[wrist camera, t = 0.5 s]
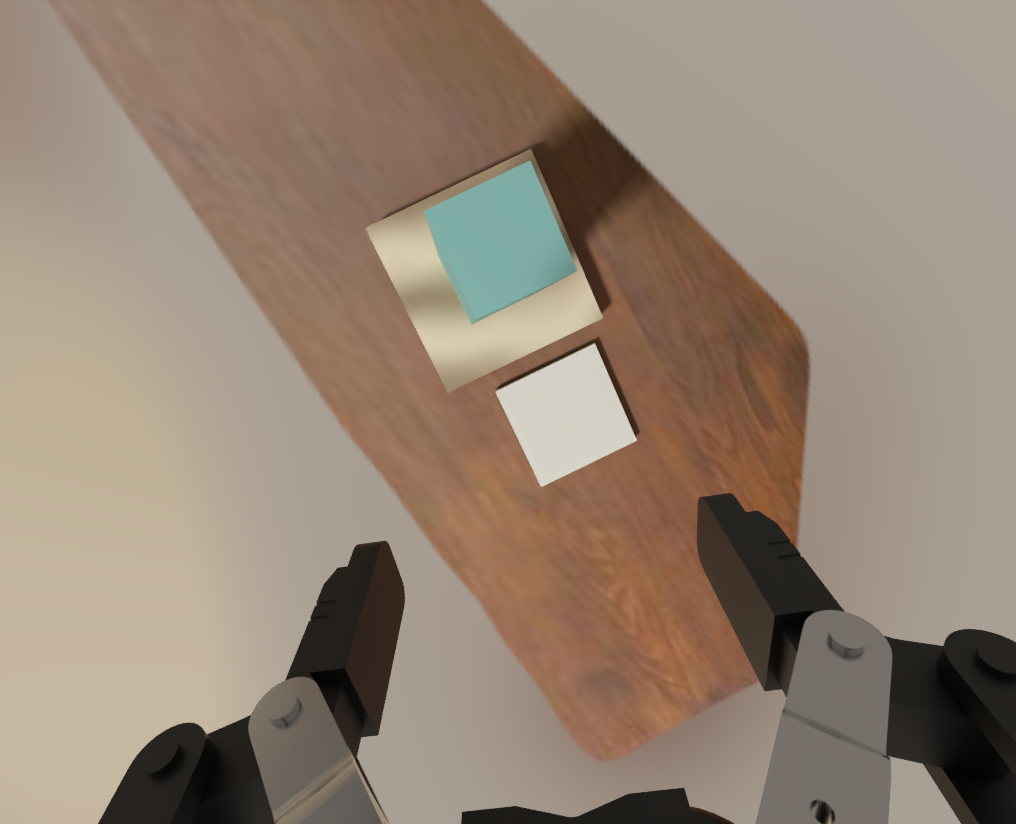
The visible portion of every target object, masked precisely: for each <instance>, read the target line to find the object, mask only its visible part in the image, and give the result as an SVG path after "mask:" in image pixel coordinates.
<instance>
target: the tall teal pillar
mask: <svg viewBox="0 0 1016 824" xmlns="http://www.w3.org/2000/svg"><path fill="white" fill-rule="evenodd" d="M424 213H425V216H426V219H427V223H428V226H429V229H430V232H431V235H432V238H433V241H434V244H435V248H436V251H437V254H438V256H439V259H440V261H441V263H442V265H443V267H444V269H445V271H446V273H447V275H448V277H449V279H450V282H451V284H452V286H453V288H454V290H455V292H456V294H457V296H458V298H459V300H460V302H461V305H462V307H463V309H464V311H465V313H466V315H467V317H468V319H469V321H470V323H471V325H472V324H474V323H476V322H478V321H480V320H482V319H484V318H486V317H488V316H490V315H492V314H494V313H497V312H499V311H501V310H503V309H505V308H507V307H509V306H511V305H513V304H515V303H517V302H519V301H521V300H524V299H526V298H528V297H530V296H532V295H534V294H536V293H538V292H540V291H542V290H543V289H545V288H547V287H549V286H551V285H553V284H554V283H556V282H558V281H560V280H562V279H564V278H565V277H567V276H569V275H571V274H573V273H574V272H576V271H577V269H576V266H575V264H574V262H573V259H572V257H571V255H570V252H569V250H568V248H567V245H566V243H565V241H564V238H563V236H562V234H561V231H560V229H559V227H558V224H557V222H556V220H555V217H554V215H553V213H552V210H551V208H550V206H549V203H548V201H547V199H546V196H545V194H544V192H543V189H542V187H541V185H540V182H539V180H538V178H537V175H536V173H535V171H534V168H533V166H532V164H531V161H528V162H526V163H524V164H521V165H519V166H517V167H515V168H513V169H511V170H509V171H507V172H505V173H503V174H500V175H498V176H496V177H494V178H492V179H490V180H488V181H486V182H484V183H482V184H480V185H477V186H475V187H473V188H471V189H469V190H467V191H465V192H463V193H461V194H459V195H456V196H454V197H452V198H450V199H448V200H446V201H444V202H442V203H440V204H438V205H435V206H433V207H431V208H429V209H427V210H425V211H424Z"/></svg>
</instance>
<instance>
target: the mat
mask: <svg viewBox="0 0 1016 824" xmlns="http://www.w3.org/2000/svg"><path fill="white" fill-rule="evenodd" d="M495 392H496V394H497V397H498V399H499V401H500V403H501V405H502V407H503V409H504V411H505V413H506V415H507V417H508V419H509V421H510V423H511V426H512V428H513V430H514V432H515V434H516V436H517V438H518V440H519V442H520V444H521V446H522V448H523V450H524V453H525V455H526V457H527V459H528V461H529V463H530V465H531V467H532V469H533V471H534V473H535V475H536V477H537V479H538V482H539V484H540V486H541V487H542V486H545V485H547V484H549V483H551V482H553V481H555V480H557V479H559V478H561V477H563V476H565V475H567V474H569V473H571V472H573V471H575V470H577V469H579V468H582V467H584V466H586V465H588V464H590V463H592V462H594V461H596V460H598V459H600V458H602V457H604V456H606V455H608V454H610V453H612V452H614V451H616V450H619V449H621V448H623V447H625V446H627V445H629V444H631V443H633V442H635V441H637V440H636V437H635V435H634V433H633V430H632V428H631V426H630V423H629V421H628V419H627V416H626V414H625V412H624V409H623V407H622V405H621V403H620V400H619V398H618V396H617V393H616V391H615V389H614V386H613V384H612V382H611V379H610V377H609V375H608V372H607V370H606V368H605V366H604V363H603V361H602V359H601V356H600V354H599V352H598V349H597V347H596V345H595V343H593V344H591V345H589V346H587V347H585V348H583V349H580V350H578V351H576V352H574V353H572V354H570V355H568V356H566V357H564V358H562V359H560V360H558V361H556V362H554V363H552V364H549V365H547V366H545V367H543V368H541V369H539V370H537V371H535V372H533V373H531V374H529V375H527V376H525V377H523V378H520V379H518V380H516V381H514V382H512V383H510V384H508V385H506V386H504V387H502V388H500V389H498V390H496V391H495Z"/></svg>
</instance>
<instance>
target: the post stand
mask: <svg viewBox="0 0 1016 824" xmlns="http://www.w3.org/2000/svg"><path fill="white" fill-rule="evenodd" d="M528 161H531V164H532V166H533V168H534V171H535V173H536V175H537V178H538V180H539V182H540V185H541V187H542V189H543V192H544V194H545V196H546V199H547V201H548V203H549V206H550V208H551V210H552V213H553V215H554V217H555V220H556V222H557V224H558V227H559V229H560V231H561V234H562V236H563V238H564V241H565V243H566V245H567V248H568V250H569V252H570V255H571V257H572V259H573V262H574V264H575V266H576V269H577V271H576V272H574V273H573V274H571V275H569V276H567V277H565V278H564V279H562V280H560V281H558V282H556V283H554V284H553V285H551V286H549V287H547V288H545V289H543V290H542V291H540V292H538V293H536V294H534V295H532V296H530V297H528V298H526V299H524V300H521V301H519V302H517V303H515V304H513V305H511V306H509V307H507V308H505V309H503V310H501V311H499V312H497V313H494V314H492V315H490V316H488V317H486V318H484V319H482V320H480V321H478V322H476V323H474V324H472V325H471V323H470V321H469V319H468V317H467V315H466V313H465V311H464V309H463V307H462V305H461V302H460V300H459V298H458V296H457V294H456V292H455V290H454V288H453V286H452V284H451V282H450V279H449V277H448V275H447V273H446V271H445V269H444V267H443V265H442V263H441V261H440V259H439V256H438V254H437V251H436V248H435V244H434V241H433V238H432V235H431V232H430V229H429V226H428V223H427V219H426V216H425V213H424V211H425V210H427V209H429V208H431V207H433V206H435V205H438V204H440V203H442V202H444V201H446V200H448V199H450V198H452V197H454V196H456V195H459V194H461V193H463V192H465V191H467V190H469V189H471V188H473V187H475V186H477V185H480V184H482V183H484V182H486V181H488V180H490V179H492V178H494V177H496V176H498V175H500V174H503V173H505V172H507V171H509V170H511V169H513V168H515V167H517V166H519V165H521V164H524V163H526V162H528ZM365 229H366V231H367V233H368V235H369V237H370V239H371V241H372V243H373V245H374V247H375V249H376V251H377V253H378V255H379V257H380V259H381V261H382V263H383V265H384V267H385V269H386V271H387V273H388V275H389V277H390V279H391V281H392V283H393V285H394V287H395V289H396V290H397V292H398V294H399V296H400V298H401V300H402V302H403V304H404V306H405V308H406V310H407V312H408V314H409V316H410V318H411V320H412V322H413V324H414V326H415V328H416V330H417V332H418V334H419V336H420V338H421V340H422V342H423V344H424V346H425V348H426V350H427V352H428V354H429V356H430V358H431V360H432V362H433V364H434V366H435V368H436V370H437V372H438V374H439V376H440V378H441V380H442V382H443V384H444V386H445V388H446V390H447V392H448V393H449V392H451V391H453V390H455V389H457V388H459V387H461V386H463V385H465V384H467V383H469V382H471V381H474V380H476V379H478V378H480V377H482V376H484V375H486V374H488V373H490V372H492V371H494V370H496V369H498V368H501V367H503V366H505V365H507V364H509V363H511V362H513V361H515V360H517V359H519V358H521V357H523V356H525V355H527V354H530V353H532V352H534V351H536V350H538V349H540V348H542V347H544V346H546V345H548V344H550V343H552V342H554V341H556V340H559V339H561V338H563V337H565V336H567V335H569V334H571V333H573V332H575V331H577V330H579V329H581V328H583V327H585V326H588V325H590V324H592V323H594V322H596V321H598V320H600V319H602V318H603V316H602V314H601V312H600V309H599V307H598V305H597V302H596V300H595V298H594V295H593V293H592V291H591V288H590V286H589V283H588V281H587V279H586V276H585V274H584V272H583V269H582V267H581V265H580V262H579V260H578V258H577V255H576V253H575V251H574V248H573V246H572V243H571V241H570V239H569V236H568V234H567V232H566V229H565V227H564V225H563V222H562V220H561V218H560V215H559V213H558V211H557V208H556V206H555V203H554V201H553V199H552V196H551V194H550V192H549V189H548V187H547V185H546V182H545V180H544V178H543V175H542V173H541V171H540V168H539V166H538V163H537V161H536V159H535V156H534V154H533V152H532V149H529V150H527V151H525V152H523V153H521V154H519V155H517V156H515V157H513V158H511V159H508V160H506V161H504V162H502V163H500V164H498V165H496V166H494V167H492V168H490V169H487V170H485V171H483V172H481V173H479V174H477V175H475V176H473V177H471V178H469V179H467V180H464V181H462V182H460V183H458V184H456V185H454V186H452V187H450V188H448V189H446V190H443V191H441V192H439V193H437V194H435V195H433V196H431V197H429V198H427V199H425V200H422V201H420V202H418V203H416V204H414V205H412V206H410V207H408V208H406V209H404V210H401V211H399V212H397V213H395V214H393V215H391V216H389V217H387V218H385V219H383V220H380V221H378V222H376V223H374V224H372V225H370V226H368V227H366V228H365Z"/></svg>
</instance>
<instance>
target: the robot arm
mask: <svg viewBox="0 0 1016 824" xmlns="http://www.w3.org/2000/svg"><path fill="white" fill-rule="evenodd" d="M697 548H698V554H699V558H700V561H701V564H702V567H703V569H704V571H705V573H706V575H707V577H708V579H709V581H710V583H711V585H712V587H713V589H714V591H715V593H716V595H717V597H718V599H719V601H720V603H721V605H722V607H723V609H724V611H725V613H726V615H727V617H728V619H729V621H730V623H731V625H732V627H733V629H734V631H735V633H736V635H737V637H738V639H739V641H740V643H741V645H742V647H743V649H744V651H745V653H746V655H747V657H748V659H749V661H750V663H751V665H752V667H753V669H754V671H755V673H756V675H757V677H758V679H759V681H760V683H761V685H762V687H763V689H764V691H771V690H779V689H782V690H783V692H784V694H785V696H786V697H787V699H786V703H785V707H784V709H783V711H782V715H781V719H780V723H779V727H778V731H777V735H776V740H775V744H774V748H773V752H772V757H771V761H770V765H769V769H768V774H767V778H766V782H765V786H764V791H763V795H762V799H761V803H760V808H759V812H758V816H757V820H756V824H888V815H889V800H890V783H891V761H890V758H889V757H888V756H891V757H895V758H900V759H904V760H909V761H914V762H918V763H923V765H924V766H925V768H926V769H927V771H928V772H929V774H930V775H931V777H932V779H933V780H934V782H935V783H936V785H937V786H938V788H939V790H940V791H941V793H942V794H943V796H944V797H945V799H946V801H947V802H948V803H949V805H950V806H951V808H952V810H953V811H954V813H955V815H956V816H957V818H958V819H959V821H960V822H961V824H1016V642H1014V641H1012V640H1010V639H1008V638H1005V637H1003V636H1001V635H998V634H994V633H991V632H987V631H983V630H975V629H964V630H958V631H955V632H953V633H951V634H950V635H949V636H948V637H947V638H946V640H945V643H944V646H938V645H932V644H924V643H918V642H911V641H904V640H898V639H893V638H890V637H886V636H883V634H882V633H881V632H880V631H879V630H878V629H876V628H875V627H874V626H873V625H872V624H870V623H869V622H867V621H865V620H864V619H862V618H860V617H858V616H855V615H853V614H850V613H847V612H845V611H844V610H843V609H842V608H841V606H840V605H839V604H838V603H837V601H836V600H835V599H834V597H833V596H832V595H831V594H830V592H829V591H828V589H827V588H826V587H825V586H824V584H823V583H822V582H821V580H820V579H819V578H818V577H817V575H816V574H815V572H814V571H813V570H812V569H811V567H810V566H809V565H808V563H807V562H806V561H805V559H804V558H803V557H801V556H800V553H799V551H798V550H797V549H796V547H795V546H794V545H793V544H792V543H790V540H789V538H788V537H787V536H786V534H785V533H784V532H783V530H782V529H781V528H780V526H779V525H778V524H777V523H776V522H774V521H773V520H771V519H770V518H768V517H767V516H765V515H764V514H762V513H761V512H759V511H752V512H745V511H744V509H743V508H742V506H741V505H740V503H739V502H738V501H737V499H736V498H735V496H734V495H733V494H731V493H727V494H720V495H713V496H706V497H700V498H699V500H698V521H697ZM404 603H405V593H404V586H403V582H402V579H401V576H400V573H399V570H398V568H397V565H396V562H395V560H394V557H393V554H392V551H391V548H390V546H389V544H388V542H386V541H380V542H373V543H366V544H359V545H356V546H355V548H354V550H353V553H352V556H351V559H350V561H349V564H348V567H340V568H337V569H336V571H335V572H334V573H333V574H332V575H331V577H330V578H329V579H328V580H327V581H326V582H325V584H324V585H323V588H322V590H321V593H320V595H319V598H318V600H317V606H315V608H314V610H313V613H312V615H311V621H309V623H308V625H307V628H306V630H305V633H304V635H303V638H302V640H301V643H300V645H299V648H298V650H297V653H296V655H295V658H294V660H293V663H292V665H291V668H290V670H289V673H288V675H287V677H286V680H285V681H283V682H281V683H280V684H278V685H276V686H275V687H274V688H273V689H271V690H270V691H269V692H267V693H266V694H265V695H264V696H263V697H262V699H261V700H260V701H259V702H258V704H257V705H256V707H255V709H254V710H253V712H252V715H250V716H248V717H246V718H244V719H241V720H239V721H237V722H235V723H232V724H230V725H228V726H225V727H223V728H221V729H218V730H216V731H214V732H212V733H209V734H206V733H205V731H204V730H203V729H202V727H200V726H199V725H197V724H195V723H183V724H179V725H176V726H174V727H171V728H169V729H167V730H166V731H164V732H162V733H161V734H159V735H158V736H156V737H155V738H154V739H153V740H151V741H150V742H149V743H148V744H147V745H146V746H145V747H144V748H143V749H142V750H141V751H140V752H139V754H138V755H137V756H136V758H135V759H134V760H133V762H132V764H131V765H130V767H129V769H128V770H127V772H126V774H125V776H124V778H123V780H122V781H121V783H120V785H119V787H118V788H117V790H116V792H115V794H114V796H113V798H112V799H111V801H110V803H109V805H108V807H107V808H106V811H105V812H104V814H103V816H102V818H101V819H100V821H99V823H98V824H390V823H389V821H388V819H387V817H386V815H385V812H384V810H383V808H382V806H381V804H380V802H379V800H378V798H377V796H376V794H375V792H374V790H373V788H372V786H371V784H370V782H369V780H368V777H367V775H366V773H365V771H364V769H363V767H362V765H361V763H360V761H359V759H358V757H357V753H358V749H359V745H360V740H361V737H367V736H376V735H378V734H379V729H380V723H381V719H382V714H383V709H384V704H385V699H386V694H387V689H388V684H389V679H390V674H391V669H392V664H393V659H394V654H395V650H396V645H397V640H398V635H399V629H400V625H401V620H402V615H403V610H404ZM461 824H734V823H732V822H731V821H729V820H726V819H725V818H722V817H720V816H718V815H716V814H714V813H711V812H708V811H706V810H703V809H700V808H695V807H690V806H689V803H688V800H687V796H686V793H685V790H684V788H678V789H669V790H659V791H650V792H641V793H632V794H627V795H625V796H623V797H620V798H618V799H616V800H614V801H611V802H609V803H607V804H605V805H602V806H600V807H598V808H596V809H594V810H591V811H589V812H587V813H585V814H582V815H580V816H577V817H565V816H560V815H556V814H551V813H546V812H541V811H536V810H531V809H527V808H522V807H517V806H512V807H504V808H494V809H485V810H476V811H466V812H462V822H461Z"/></svg>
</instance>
